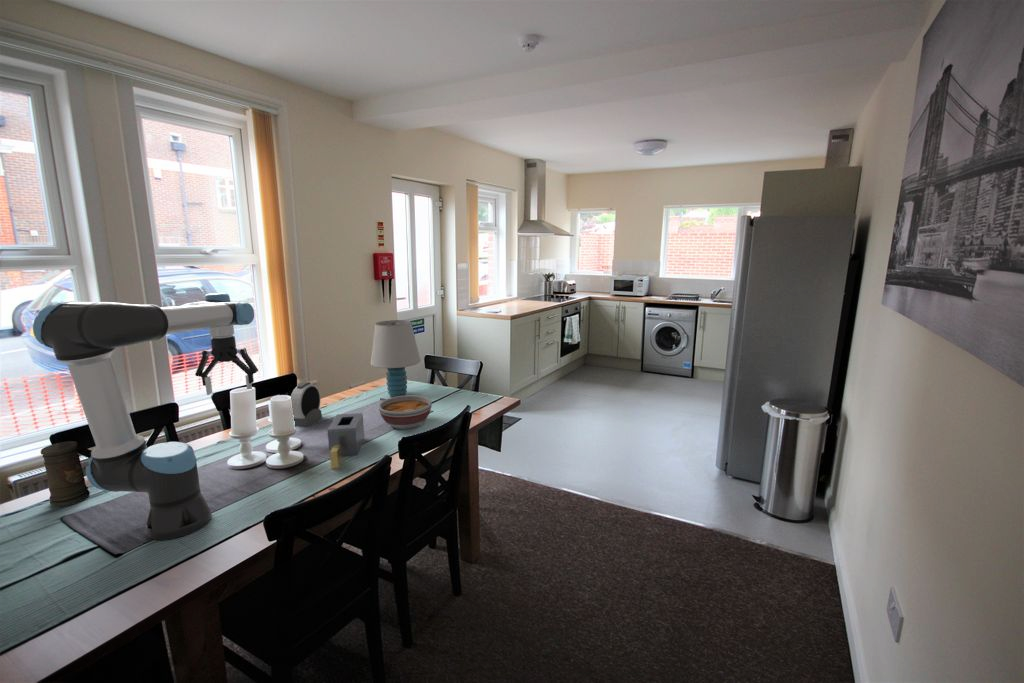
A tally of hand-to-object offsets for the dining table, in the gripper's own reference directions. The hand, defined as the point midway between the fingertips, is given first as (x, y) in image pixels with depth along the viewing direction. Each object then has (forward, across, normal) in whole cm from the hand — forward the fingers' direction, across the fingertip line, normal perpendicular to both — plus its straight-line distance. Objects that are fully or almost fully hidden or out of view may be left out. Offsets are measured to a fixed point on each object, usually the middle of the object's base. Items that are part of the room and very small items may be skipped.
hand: (229, 392), depth 171 cm
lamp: (+25, -55, -64) cm, 88 cm away
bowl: (+25, -62, -21) cm, 70 cm away
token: (+25, -38, +15) cm, 48 cm away
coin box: (+25, -40, 0) cm, 47 cm away
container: (+26, +40, +24) cm, 53 cm away
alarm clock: (+25, -17, -33) cm, 45 cm away
